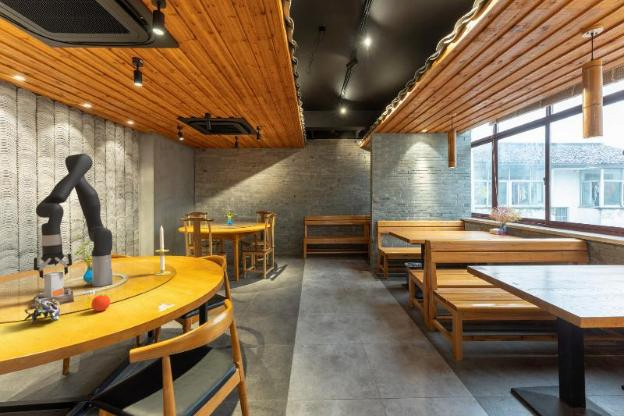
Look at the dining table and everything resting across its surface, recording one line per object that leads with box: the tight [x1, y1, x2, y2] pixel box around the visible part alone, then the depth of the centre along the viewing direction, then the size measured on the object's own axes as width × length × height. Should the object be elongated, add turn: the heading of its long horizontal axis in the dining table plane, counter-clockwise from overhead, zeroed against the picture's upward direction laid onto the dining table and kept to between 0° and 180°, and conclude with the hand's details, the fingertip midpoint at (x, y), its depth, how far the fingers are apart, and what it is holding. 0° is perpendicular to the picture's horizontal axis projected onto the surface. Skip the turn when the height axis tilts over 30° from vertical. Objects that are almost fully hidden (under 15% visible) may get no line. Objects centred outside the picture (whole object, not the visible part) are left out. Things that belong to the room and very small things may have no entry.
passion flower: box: [23, 299, 62, 326], centre depth 118 cm, size 11×11×12 cm
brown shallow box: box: [30, 288, 75, 310], centre depth 144 cm, size 15×18×3 cm
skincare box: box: [43, 271, 64, 298], centre depth 146 cm, size 6×4×12 cm
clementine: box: [91, 294, 113, 312], centre depth 131 cm, size 8×7×7 cm
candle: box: [153, 225, 172, 276], centre depth 195 cm, size 10×10×32 cm
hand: (54, 276), depth 145 cm, fingers open, 8 cm apart
